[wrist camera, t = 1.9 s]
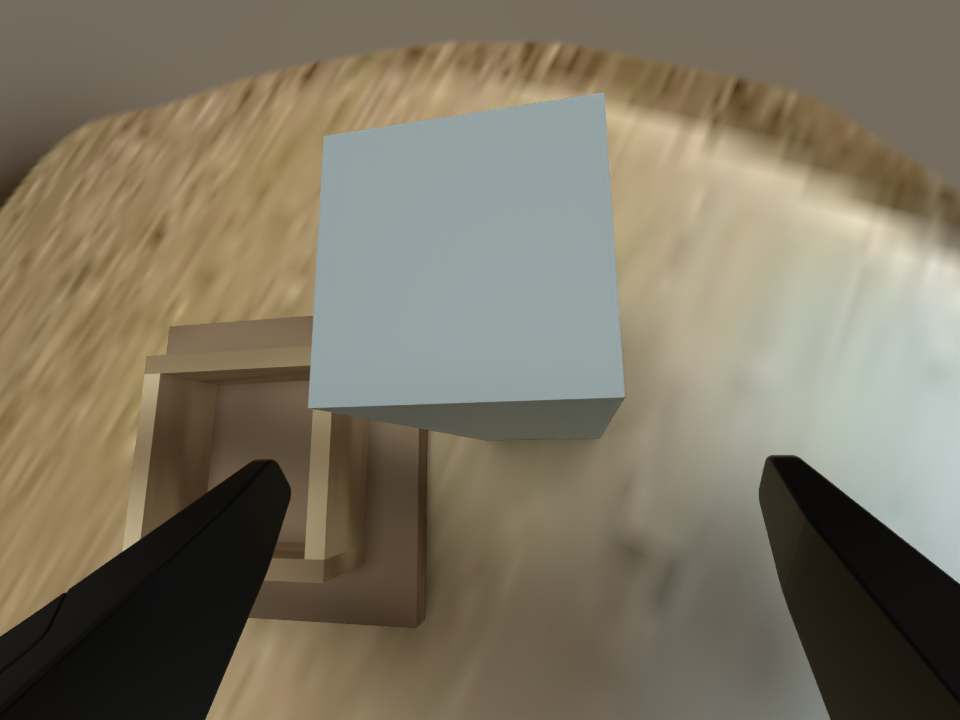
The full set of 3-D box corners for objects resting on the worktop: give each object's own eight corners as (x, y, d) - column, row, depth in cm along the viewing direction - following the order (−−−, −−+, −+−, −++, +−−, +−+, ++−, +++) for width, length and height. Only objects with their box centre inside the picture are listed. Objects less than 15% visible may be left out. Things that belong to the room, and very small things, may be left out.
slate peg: (599, 438, 19) (625, 397, 6) (485, 440, 20) (308, 407, 7) (593, 325, 20) (604, 92, 7) (484, 332, 20) (324, 135, 8)
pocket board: (425, 619, 19) (383, 660, 15) (156, 604, 21) (61, 636, 17) (428, 314, 21) (393, 282, 17) (186, 332, 24) (108, 307, 20)
